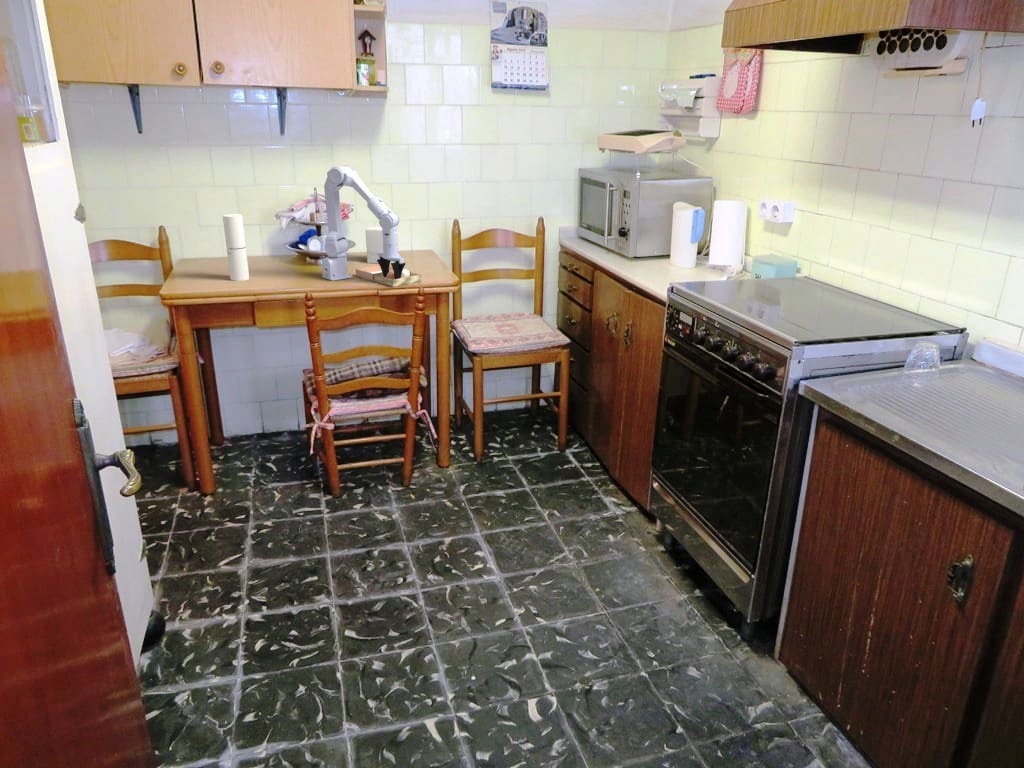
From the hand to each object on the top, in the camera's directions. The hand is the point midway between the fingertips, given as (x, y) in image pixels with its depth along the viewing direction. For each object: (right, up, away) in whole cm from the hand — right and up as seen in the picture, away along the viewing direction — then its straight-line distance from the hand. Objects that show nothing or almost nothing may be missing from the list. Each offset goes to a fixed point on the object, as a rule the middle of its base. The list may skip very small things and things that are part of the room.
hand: (391, 278), depth 288 cm
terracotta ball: (0, +1, 0) cm, 1 cm away
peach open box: (-7, +3, +11) cm, 13 cm away
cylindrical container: (-61, 0, +2) cm, 61 cm away
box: (+2, -1, +3) cm, 3 cm away
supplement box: (-11, +13, +36) cm, 40 cm away
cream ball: (+5, +2, +4) cm, 7 cm away
